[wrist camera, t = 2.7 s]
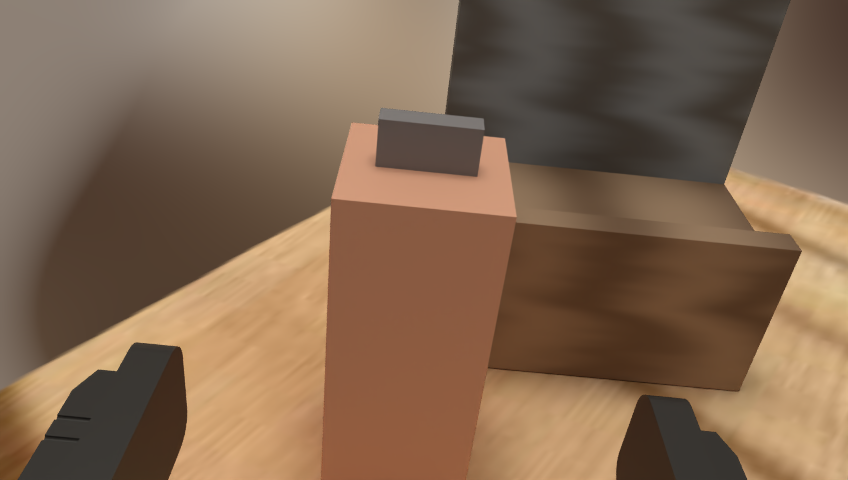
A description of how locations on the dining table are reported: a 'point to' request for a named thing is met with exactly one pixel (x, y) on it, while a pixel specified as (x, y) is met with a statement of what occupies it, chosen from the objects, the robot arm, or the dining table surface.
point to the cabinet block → (413, 294)
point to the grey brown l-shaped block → (625, 183)
